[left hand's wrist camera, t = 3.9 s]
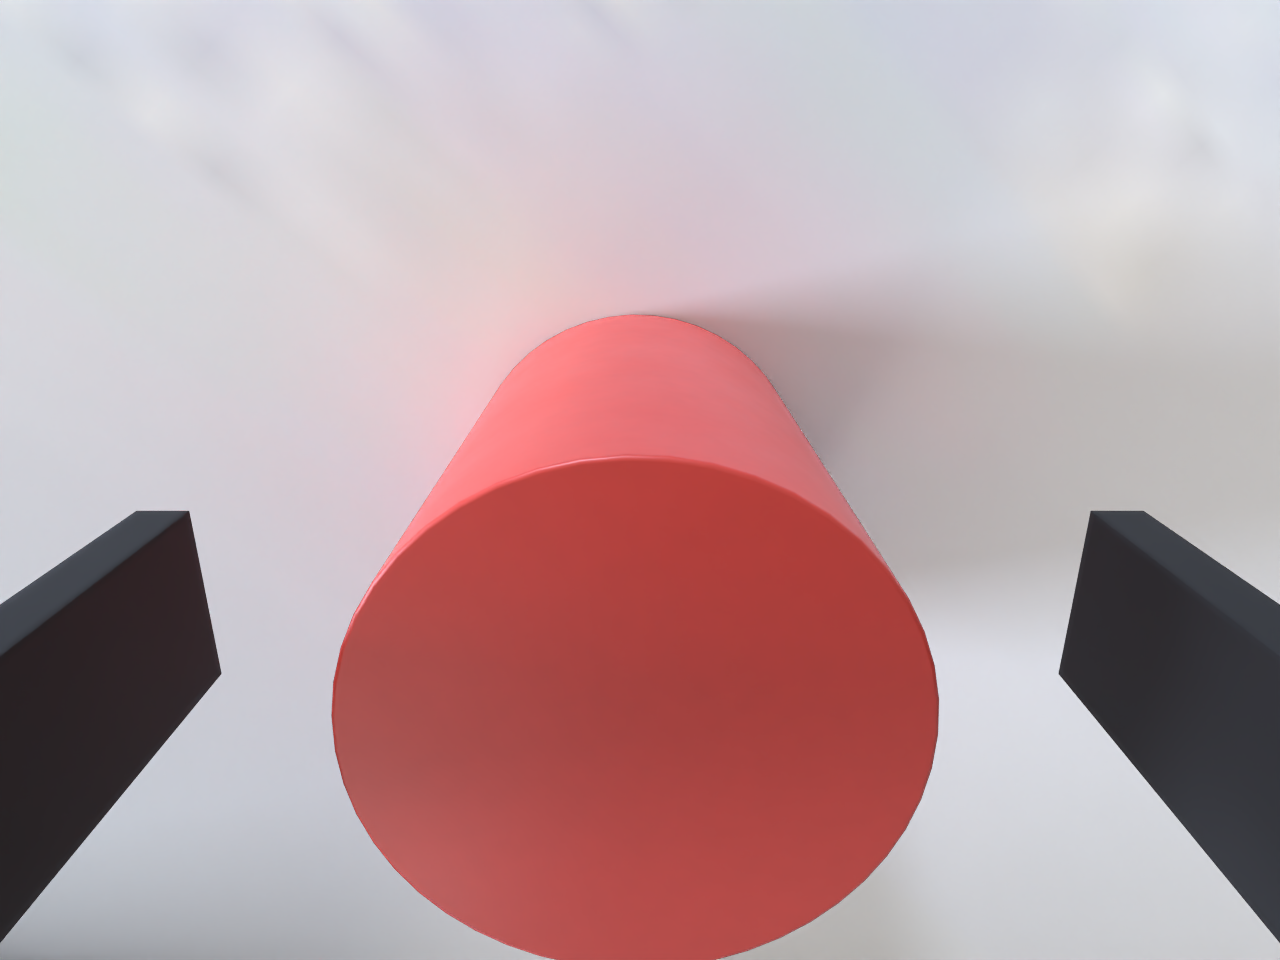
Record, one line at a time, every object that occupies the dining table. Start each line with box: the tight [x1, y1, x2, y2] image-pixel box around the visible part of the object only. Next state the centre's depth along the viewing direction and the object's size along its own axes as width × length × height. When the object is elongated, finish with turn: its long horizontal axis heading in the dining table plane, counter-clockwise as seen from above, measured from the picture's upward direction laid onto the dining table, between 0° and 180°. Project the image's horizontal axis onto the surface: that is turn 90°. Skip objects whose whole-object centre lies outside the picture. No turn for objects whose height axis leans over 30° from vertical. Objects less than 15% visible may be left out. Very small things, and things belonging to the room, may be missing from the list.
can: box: [332, 315, 939, 960], centre depth 14 cm, size 7×7×9 cm
